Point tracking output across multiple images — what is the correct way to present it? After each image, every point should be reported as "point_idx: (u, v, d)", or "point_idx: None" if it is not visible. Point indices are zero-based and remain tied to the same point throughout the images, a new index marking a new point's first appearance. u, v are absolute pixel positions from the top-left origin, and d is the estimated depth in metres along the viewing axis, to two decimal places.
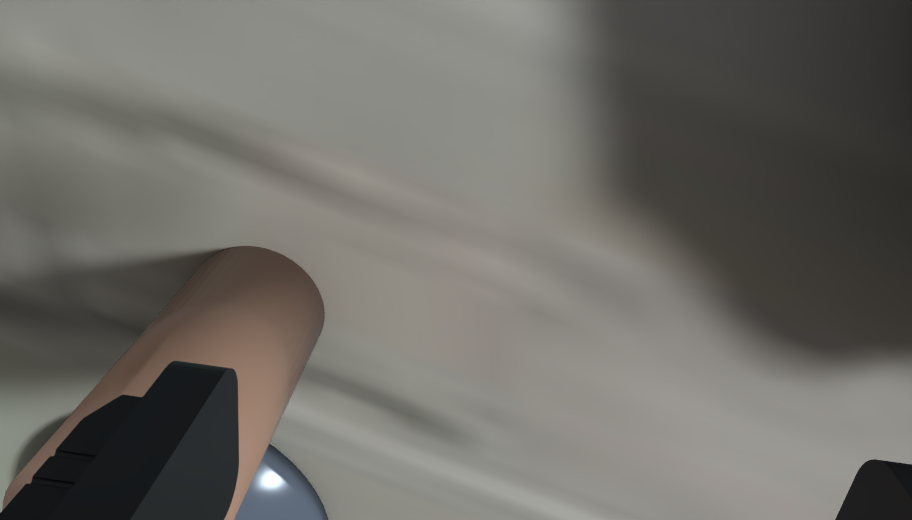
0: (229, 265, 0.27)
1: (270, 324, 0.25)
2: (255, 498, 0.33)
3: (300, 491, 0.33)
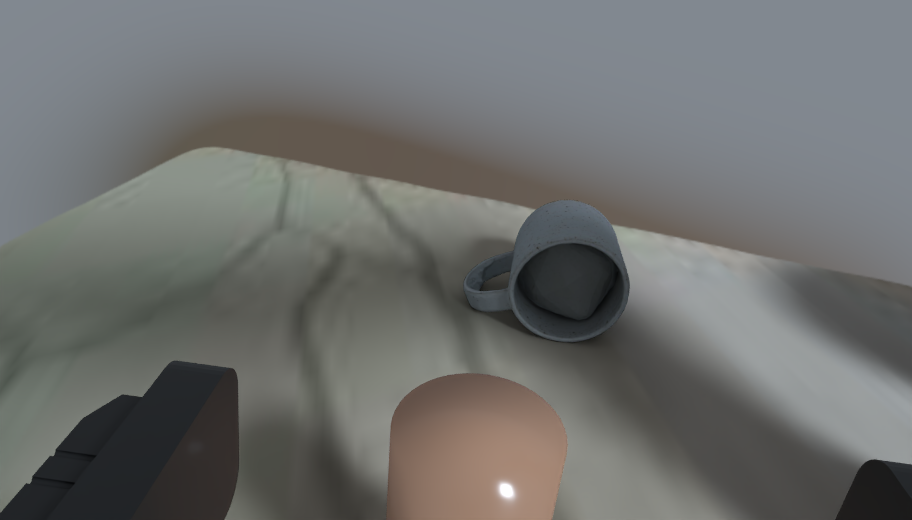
0: None
1: None
2: None
3: None
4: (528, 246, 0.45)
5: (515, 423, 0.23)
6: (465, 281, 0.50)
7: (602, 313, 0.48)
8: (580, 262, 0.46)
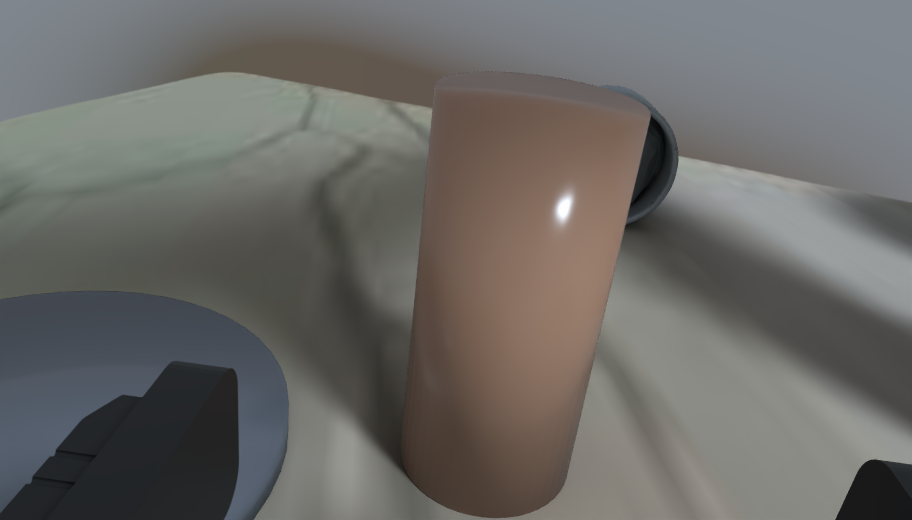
0: None
1: (589, 375, 0.21)
2: None
3: None
4: None
5: (584, 97, 0.19)
6: None
7: (645, 199, 0.44)
8: None
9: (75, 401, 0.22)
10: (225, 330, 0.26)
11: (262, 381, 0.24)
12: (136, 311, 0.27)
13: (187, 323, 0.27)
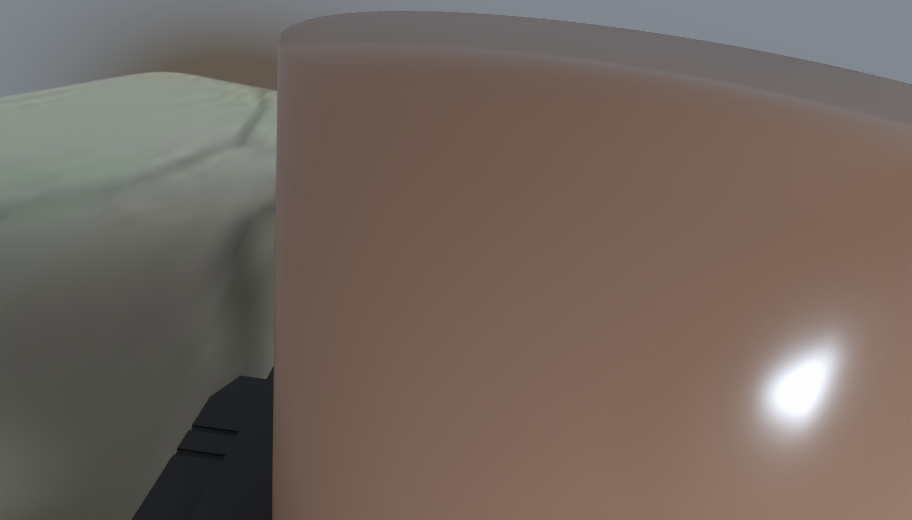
0: None
1: None
2: None
3: None
4: None
5: (802, 83, 0.06)
6: None
7: None
8: None
9: None
10: None
11: None
12: None
13: None
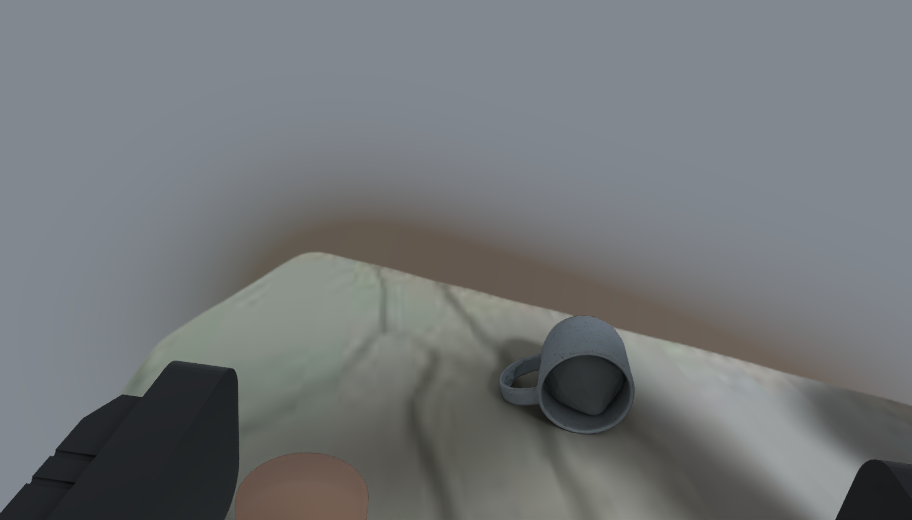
0: None
1: None
2: None
3: None
4: (554, 355, 0.57)
5: (332, 492, 0.31)
6: (500, 378, 0.61)
7: (611, 411, 0.59)
8: (596, 369, 0.57)
9: None
10: None
11: None
12: None
13: None
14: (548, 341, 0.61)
